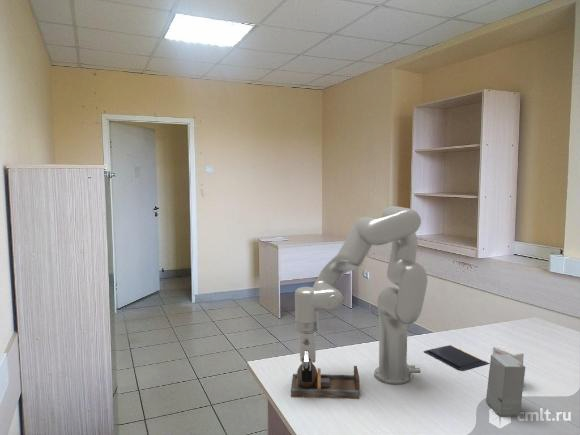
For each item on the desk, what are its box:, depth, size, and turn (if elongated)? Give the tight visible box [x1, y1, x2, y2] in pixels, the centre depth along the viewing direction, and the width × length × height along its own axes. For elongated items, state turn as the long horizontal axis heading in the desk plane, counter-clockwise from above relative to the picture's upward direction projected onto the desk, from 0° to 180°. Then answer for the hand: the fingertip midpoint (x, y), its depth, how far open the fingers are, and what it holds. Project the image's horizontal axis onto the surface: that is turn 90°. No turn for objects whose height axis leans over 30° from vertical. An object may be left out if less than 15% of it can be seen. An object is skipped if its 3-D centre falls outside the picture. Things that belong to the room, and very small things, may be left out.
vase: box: [296, 359, 318, 388], centre depth 145 cm, size 7×7×9 cm
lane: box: [290, 365, 361, 400], centre depth 144 cm, size 22×12×6 cm, turn 86°
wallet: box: [423, 344, 490, 372], centre depth 168 cm, size 20×2×15 cm
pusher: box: [317, 367, 330, 389], centre depth 144 cm, size 4×9×4 cm, turn 176°
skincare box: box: [485, 353, 526, 417], centre depth 130 cm, size 8×7×16 cm
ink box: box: [492, 344, 524, 365], centre depth 147 cm, size 9×5×12 cm, turn 26°
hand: (307, 374), depth 145 cm, fingers open, 9 cm apart
